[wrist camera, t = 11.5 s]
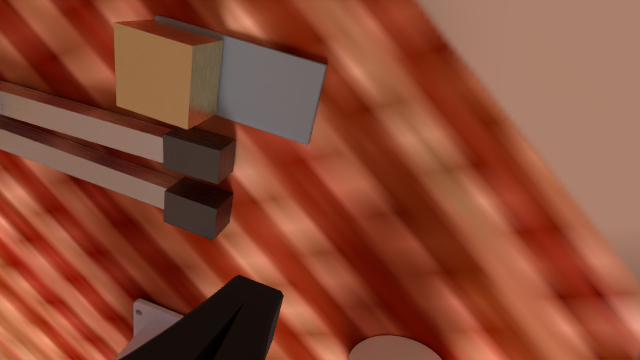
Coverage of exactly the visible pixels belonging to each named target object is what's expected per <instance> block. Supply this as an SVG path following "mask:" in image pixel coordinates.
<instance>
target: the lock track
mask: <svg viewBox="0 0 640 360" xmlns="http://www.w3.org/2000/svg"><path fill="white" fill-rule="evenodd" d="M155 20H156V21H159V22H163V23H166V24H169V25H173V26H176V27H179V28H183V29H186V30H189V31H193V32H196V33H200V34H203V35H206V36H210V37H213V38H216V39H220V40H223V46H222V56H221V66H220V76H219V87H218V97H217V107H216V115H217V116H220V117H223V118H226V119H229V120H232V121H235V122H238V123H241V124H244V125H247V126H250V127H253V128H257V129H260V130H263V131H266V132H269V133H272V134H275V135H278V136H281V137H284V138H287V139H290V140H293V141H296V142H299V143H302V144H306V145H308V144H309V142H310V138H311V133H312V129H313V125H314V121H315V116H316V112H317V108H318V103H319V99H320V95H321V91H322V86H323V82H324V78H325V73H326V69H327V64H323V63H320V62H317V61H313V60H310V59H307V58H303V57H300V56H296V55H293V54H290V53H286V52H283V51H279V50H276V49H273V48H269V47H266V46H262V45H259V44H256V43H252V42H249V41H246V40H242V39H239V38H235V37H232V36H229V35H225V34H222V33H218V32H215V31H212V30H208V29H205V28H201V27H198V26H195V25H191V24H188V23H185V22H181V21H178V20H174V19H171V18H168V17H164V16H161V15H155Z"/></svg>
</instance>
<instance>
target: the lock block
mask: <svg viewBox="0 0 640 360" xmlns="http://www.w3.org/2000/svg"><path fill="white" fill-rule="evenodd" d="M222 46H223V40H220V39H216V38H213V37H210V36H206V35H203V34H200V33H196V32H193V31H189V30H186V29H183V28H179V27H176V26H173V25H169V24H166V23H163V22H159V21H156V20H140V21H125V22H114V48H115V77H116V106H119V107H122V108H125V109H128V110H131V111H133V112H136V113H139V114H142V115H145V116H148V117H151V118H154V119H157V120H160V121H163V122H166V123H169V124H172V125H175V126H178V127H181V128H184V129H187V130H188V129H190V128H192V127H194V126H196V125H197V124H199V123H201V122H203V121H205V120H207V119H209V118H211V117H213V116H214V115H216V107H217V97H218V87H219V76H220V66H221V56H222Z"/></svg>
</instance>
